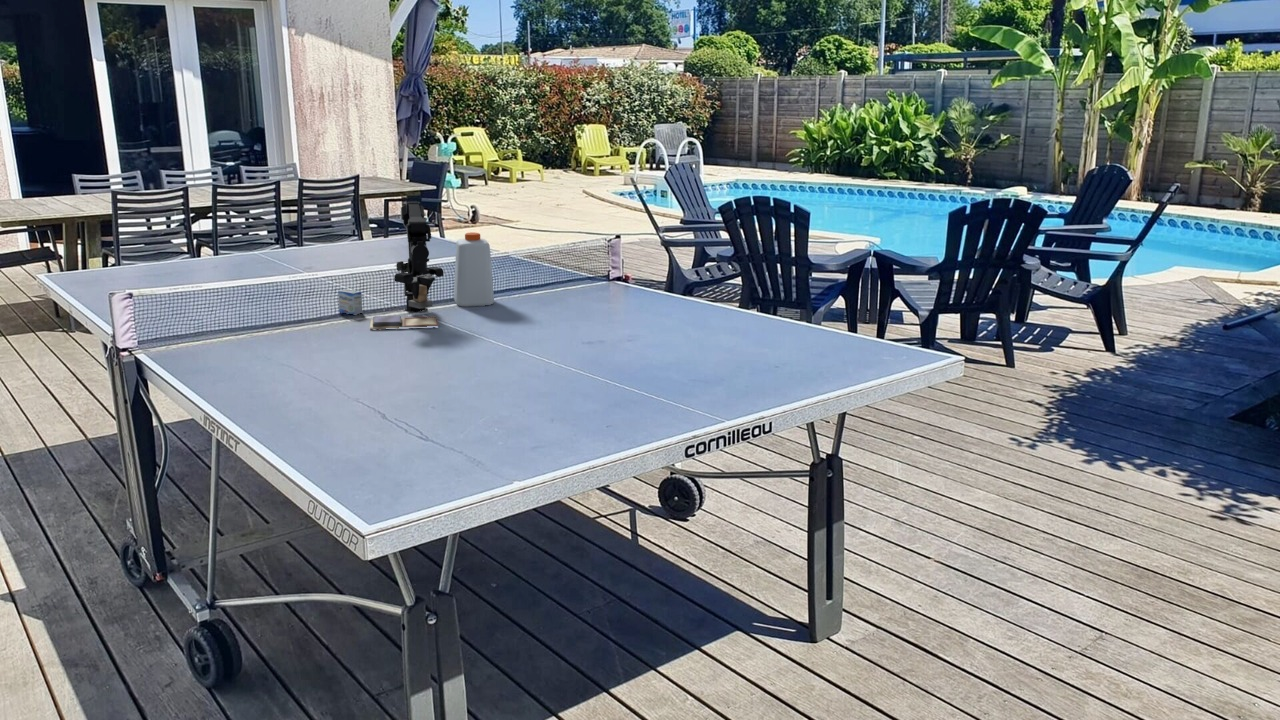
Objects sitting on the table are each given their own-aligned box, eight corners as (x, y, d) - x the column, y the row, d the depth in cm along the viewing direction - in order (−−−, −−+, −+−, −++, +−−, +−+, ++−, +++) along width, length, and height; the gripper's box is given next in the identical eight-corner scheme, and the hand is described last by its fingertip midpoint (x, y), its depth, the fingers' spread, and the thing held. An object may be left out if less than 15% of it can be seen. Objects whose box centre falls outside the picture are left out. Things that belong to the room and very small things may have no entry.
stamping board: (436, 320, 376) (436, 313, 375) (438, 328, 365) (438, 321, 364) (370, 321, 370) (370, 315, 370) (370, 330, 359) (369, 323, 359)
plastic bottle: (452, 299, 409) (450, 230, 401) (489, 297, 413) (488, 230, 405) (457, 307, 395) (455, 237, 387) (495, 306, 399) (494, 236, 391)
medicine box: (338, 313, 382) (337, 290, 379) (347, 310, 386) (346, 288, 383) (354, 316, 378) (353, 293, 376) (363, 313, 382) (361, 291, 380)
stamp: (421, 303, 371) (420, 283, 369) (432, 305, 368) (431, 285, 365) (408, 306, 366) (407, 285, 364) (419, 308, 363) (419, 288, 361)
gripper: (423, 249, 373) (424, 290, 378) (383, 256, 359) (385, 298, 364) (443, 253, 367) (445, 295, 372) (404, 260, 353) (405, 303, 357)
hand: (420, 298), depth 366 cm, fingers closed on stamp, 3 cm apart
